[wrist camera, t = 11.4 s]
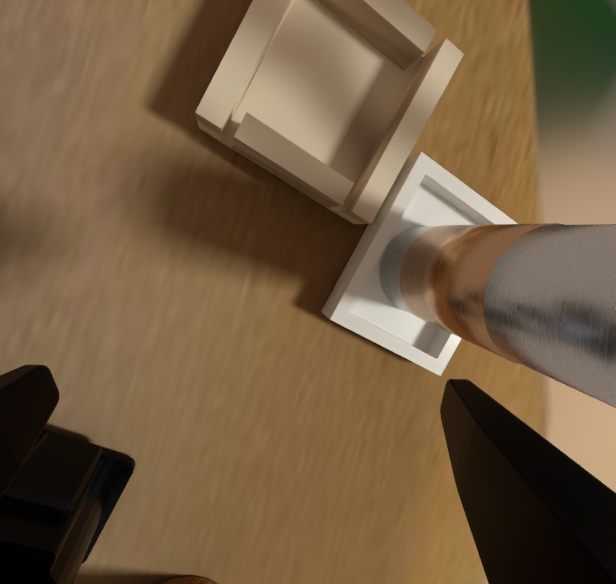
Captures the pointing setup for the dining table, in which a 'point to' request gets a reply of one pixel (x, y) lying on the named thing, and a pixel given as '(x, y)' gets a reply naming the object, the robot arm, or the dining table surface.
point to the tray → (369, 251)
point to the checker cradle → (329, 95)
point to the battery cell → (516, 294)
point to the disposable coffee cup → (188, 581)
